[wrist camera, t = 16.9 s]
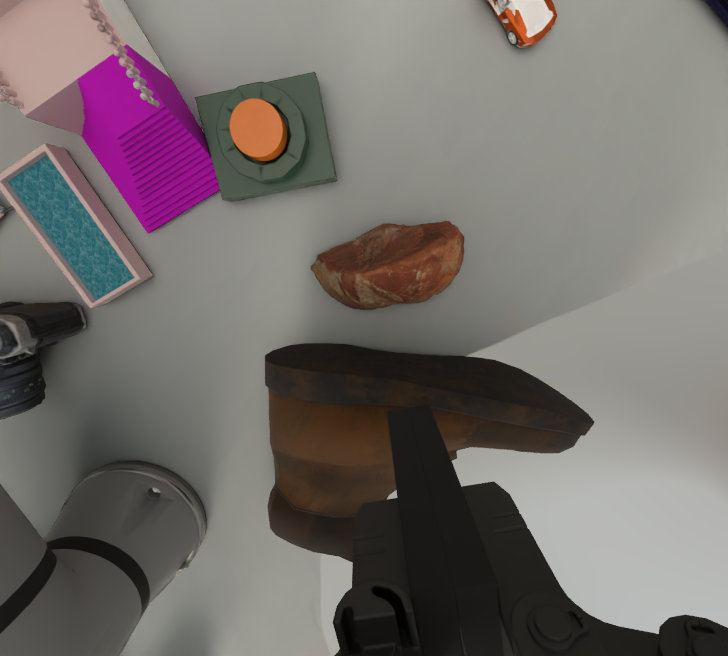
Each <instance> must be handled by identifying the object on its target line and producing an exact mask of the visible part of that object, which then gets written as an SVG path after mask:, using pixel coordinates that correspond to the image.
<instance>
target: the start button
mask: <svg viewBox="0 0 728 656" xmlns="http://www.w3.org/2000/svg"><path fill="white" fill-rule="evenodd" d="M230 133H231V137H232V139H233V141H234V143H235V145H236V146H237V147H238V148H239V149H240V150H241V151H242V152H243V153H245V154H246V155H248V156H249V157H251V158H253V159H255V160H258V161H270V160H273V159H275V158H276V157H278V156H279V155H280V154H281V153H282V152H283V150H284V148H285V146H286V143H287V128H286V125H285V122H284V120H283V119H282V117H281V116H280V115H279V113H278V112H277V110H276V109H275V108H274V107H273V106H272V105H271V104H270V103H268V102H266V101H264V100H261V99H256V98H252V99H247V100H245V101H243V102H241V103H240V104H239V105H237V107H236V108H235V109H234V111H233V113H232V115H231V118H230Z"/></svg>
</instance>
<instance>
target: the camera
mask: <svg viewBox="0 0 728 656" xmlns="http://www.w3.org/2000/svg"><path fill="white" fill-rule="evenodd" d="M85 328H86V319H85V317H84V315H83V311H82V308H81V306H79V305H77V304H75V303H70V302H60V303H34V304H24V303H21V302H6V303H2V304H0V420H1V419H5V418H8V417H11V416H14V415H17V414H20V413H23V412H25V411H28V410H30V409H32V408H34V407H35V406H37V405H39V404H41V403H42V401H43V400H44V399H45V392H44V390H45V388H46V384H45V381H44V378H43V375H42V373H43V370H42V365H41V362H40V359H39V356H38V348H39V347H42V346H51V345H55V344H56V343H57V342H58V341H59V340H62V339H65V338H68V337H70V336H73V335H75V334H78V333H80V332H82V331H83V330H84V329H85Z"/></svg>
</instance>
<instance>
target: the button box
mask: <svg viewBox="0 0 728 656" xmlns="http://www.w3.org/2000/svg"><path fill="white" fill-rule="evenodd" d="M252 98H256V99H261V100H264V101H266V102H268V103H270V104H271V105H272V106H273V107H274V108H275V109H276V110H277V112H278V113H279V115H280V116H281V117H282V119H283V120H284V122H285V125H286V128H287V143H286V146H285V148H284V150H283V152H282V153H281V154H280V155H279V156H278V157H276V158H275V159H273V160H270V161H258V160H255V159H253V158H251V157H249V156H248V155H246V154H245V153H243V152H242V151H241V150H240V149H239V148H238V147H237V146H236V145H235V143H234V141H233V139H232V137H231V133H230V118H231V115H232V113H233V111H234V109H235V108H236V107H237V105H239V104H240V103H241V102H243V101H245V100H247V99H252ZM195 99H196V103H197V107H198V111H199V114H200V118H201V122H202V125H203V129H204V133H205V136H206V140H207V144H208V148H209V151H210V155H211V159H212V162H213V166H214V170H215V173H216V177H217V181H218V184H219V188H220V192H221V196H222V199H223V200H227V201H231V202H232V201H237V200H242V199H247V198H252V197H257V196H262V195H267V194H272V193H277V192H283V191H288V190H293V189H298V188H303V187H308V186H313V185H318V184H323V183H328V182H333V181H337V178H336V172H335V167H334V162H333V157H332V151H331V146H330V141H329V135H328V130H327V125H326V120H325V114H324V109H323V104H322V99H321V93H320V88H319V83H318V80H317V76H316V73H315V72H313V73H308V74H303V75H299V76H294V77H289V78H285V79H280V80H275V81H270V82H266V83H264V82H257V83H252V84H247V85H243V86H239V87H237V88H236V89H233V90H228V91H223V92H218V93H214V94H209V95H204V96H200V97H195Z"/></svg>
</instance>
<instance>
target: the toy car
mask: <svg viewBox="0 0 728 656" xmlns="http://www.w3.org/2000/svg"><path fill="white" fill-rule="evenodd" d="M487 2H488V3H489V5H490V6H491V8H492V10H493V11H494V13H495V14H496V16H497V17H498V19H499V20H500V22H501V23H502V25H503V27H504V28H505V30H506V32H507V33H508V40H509V42H510V43H511V44H512V45H517V44H518V45H517V46H518V47H520V48H527V47H531V46H532V45H533V44H534V43H536V42H537V41H539V40H540V39H541V38H542V37H543V36H544V35H545V34H546V33H547V32H548V31H549V30H550V29H551V27H552V26H553V25H554V23H555V20H556V17H557V14H556V10H555V7H554V4H553V2H552V0H487ZM540 21H541V22H540ZM535 28H536V29H535ZM525 34H526V35H525Z"/></svg>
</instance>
